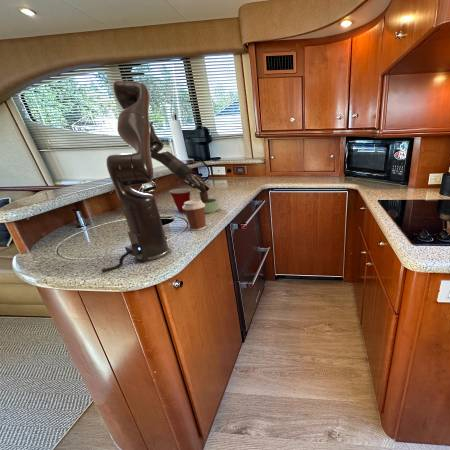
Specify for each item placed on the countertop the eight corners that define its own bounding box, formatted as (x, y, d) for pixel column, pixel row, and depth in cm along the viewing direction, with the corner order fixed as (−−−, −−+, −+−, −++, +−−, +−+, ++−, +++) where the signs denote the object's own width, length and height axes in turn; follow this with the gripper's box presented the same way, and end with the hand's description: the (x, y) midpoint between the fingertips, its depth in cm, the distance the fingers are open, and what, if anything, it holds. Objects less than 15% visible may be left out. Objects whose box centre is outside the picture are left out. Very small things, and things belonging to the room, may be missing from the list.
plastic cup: (189, 213, 128) (185, 191, 124) (170, 214, 129) (164, 192, 125) (198, 207, 138) (194, 187, 134) (180, 208, 139) (175, 188, 135)
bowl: (204, 215, 123) (202, 205, 121) (190, 212, 129) (187, 203, 127) (223, 209, 133) (222, 199, 131) (209, 206, 139) (207, 197, 137)
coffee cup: (198, 223, 110) (193, 198, 106) (213, 225, 107) (208, 199, 103) (182, 230, 103) (176, 203, 99) (198, 232, 99) (192, 205, 95)
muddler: (204, 203, 126) (200, 184, 123) (199, 202, 129) (196, 184, 125) (210, 201, 130) (207, 183, 126) (205, 200, 132) (202, 182, 128)
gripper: (176, 164, 116) (205, 188, 119) (189, 162, 129) (215, 183, 133) (168, 176, 118) (197, 199, 121) (182, 172, 131) (208, 193, 135)
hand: (206, 190), depth 127 cm, fingers closed on muddler, 4 cm apart
